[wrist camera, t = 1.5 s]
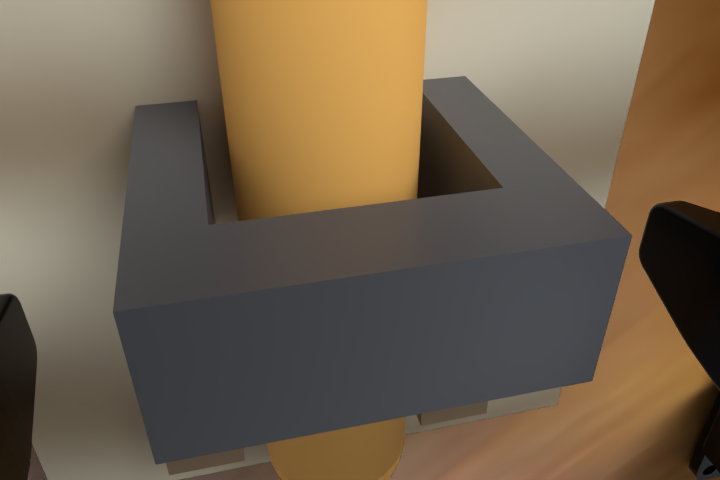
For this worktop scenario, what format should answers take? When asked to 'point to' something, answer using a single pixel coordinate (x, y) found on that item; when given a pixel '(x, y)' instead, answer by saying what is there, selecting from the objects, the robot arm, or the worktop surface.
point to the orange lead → (323, 148)
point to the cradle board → (202, 83)
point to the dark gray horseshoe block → (358, 286)
